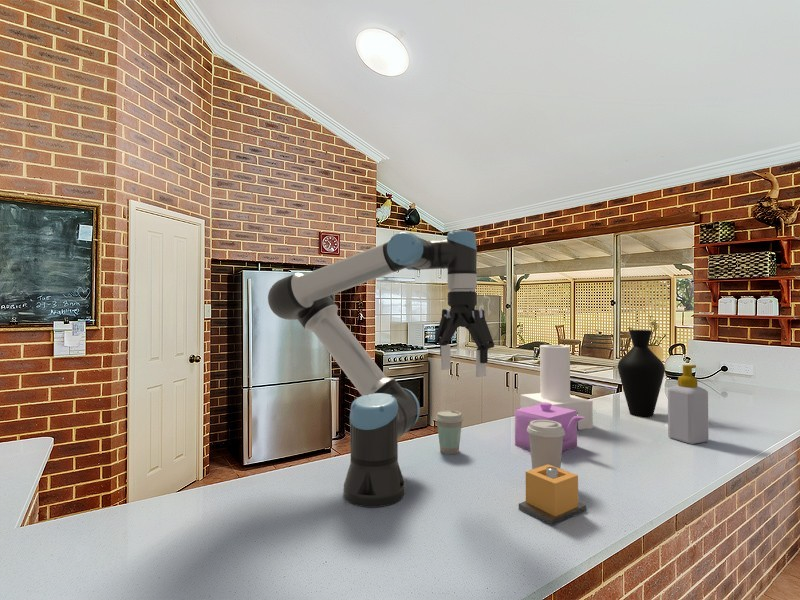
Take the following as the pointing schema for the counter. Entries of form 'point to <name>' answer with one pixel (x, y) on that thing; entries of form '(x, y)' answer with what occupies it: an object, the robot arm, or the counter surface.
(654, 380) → the vase
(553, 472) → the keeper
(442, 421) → the coffee cup
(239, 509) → the counter surface
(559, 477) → the hollow block
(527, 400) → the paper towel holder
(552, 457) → the coffee cup
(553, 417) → the teapot
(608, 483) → the counter surface
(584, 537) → the counter surface
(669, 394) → the soap bottle
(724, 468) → the counter surface
